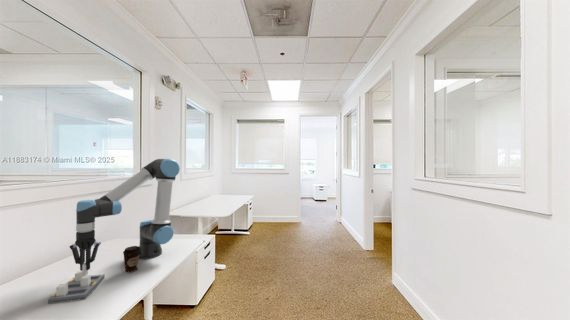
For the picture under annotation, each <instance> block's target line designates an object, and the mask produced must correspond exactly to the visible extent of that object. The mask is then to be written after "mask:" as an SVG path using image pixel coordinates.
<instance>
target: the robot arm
mask: <svg viewBox="0 0 570 320" xmlns="http://www.w3.org/2000/svg"><path fill="white" fill-rule="evenodd" d="M180 169H181V168H180V165H179V162H177V161H176V160H175V159H172V158H171V159H170V158H158V159H154V160H152V161H151V162H149V163H148V164H147V165H145V166H144V167H142V168H141V170H140V171H138V172H137V173H136V174H134V175H133V176H131V177H129V178H128V179H126V180H125V181H124V182H122V183H121V184H120V185H118V186H116V187H115V188H113V189H112V190H111V191H108V193H106V194H104V195H103V196H101V197H99V198H96V199H87V200H86V199H84V200H79V201H78V202H77V203H76V210H75V211H76V212H75V213H76V222H75V223H76V226H75V242H74V243H72V244H71V245H69V249H70V250H71V252H72V256H73V259H74V263H75V264H76V265H77V264H78V265H79V271H82V277H83V276H88V275H89V270H91V263H93V262H94V261H95V260H96V257H97V254H98V249H99V247H100V246H101V244H102V243H101V241H97V240H96V238H95V235H96V234H95V233H96V231H95V228H96V218H101V217H102V218H103V217H109V216H117V215H120V214H121V212H122V210H123V209H122V208H123V207H122V206H123V205H122V203H121V200H123V199H124V198H125V197H127V196H128V195H129V194H131V193H132V192H133V191H135V190H137V189H138V188H139V187H141V186H143V185H144V184H145V183H147V182H148V181H149V180H150V181H152V180H153V179H154V178H155V180H156V181H157V188H156V199H155V208H154V216H153V217H154V218H153V219H148V220H142V221H141V222H140V223H139V245H138V246H139V250H140V251H139V259H142V260H143V259H153V258H155V257H159V256H160V255H162V254H163V249H162V245H164V244H165V245H166V244H168V243H169V242H170V241H171V240H172V239H173V237H174V234H175V231H174V229H173V228H172V221H171V220H170V210H171V201H172V190H173V183H174V182H175V181H176V176H178V175H179V173H180ZM93 246H94V247H93ZM92 247H93V250H92ZM78 250H79V251H78Z"/></svg>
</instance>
